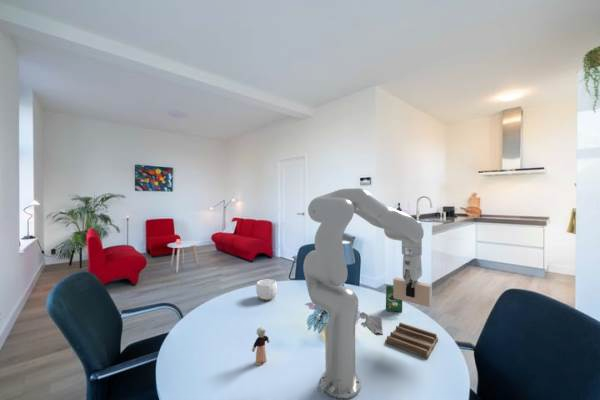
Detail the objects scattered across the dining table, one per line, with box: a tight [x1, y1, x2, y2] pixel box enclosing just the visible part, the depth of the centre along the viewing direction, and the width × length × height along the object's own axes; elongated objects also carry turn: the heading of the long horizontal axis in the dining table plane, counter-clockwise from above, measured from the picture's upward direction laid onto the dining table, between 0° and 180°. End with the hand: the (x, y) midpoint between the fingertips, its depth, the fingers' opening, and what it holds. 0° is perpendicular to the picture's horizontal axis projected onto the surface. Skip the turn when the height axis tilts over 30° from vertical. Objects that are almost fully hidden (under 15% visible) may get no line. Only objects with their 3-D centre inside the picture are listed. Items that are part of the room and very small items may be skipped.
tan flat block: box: [392, 277, 433, 308], centre depth 104 cm, size 3×14×8 cm, turn 49°
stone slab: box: [360, 312, 383, 336], centre depth 120 cm, size 18×2×10 cm
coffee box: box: [385, 284, 403, 313], centre depth 133 cm, size 8×3×13 cm, turn 79°
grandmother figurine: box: [251, 326, 271, 367], centre depth 94 cm, size 8×4×13 cm, turn 148°
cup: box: [255, 278, 278, 301], centre depth 150 cm, size 12×12×10 cm
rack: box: [384, 322, 439, 360], centre depth 105 cm, size 16×16×2 cm
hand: (411, 294), depth 104 cm, fingers closed on tan flat block, 3 cm apart
